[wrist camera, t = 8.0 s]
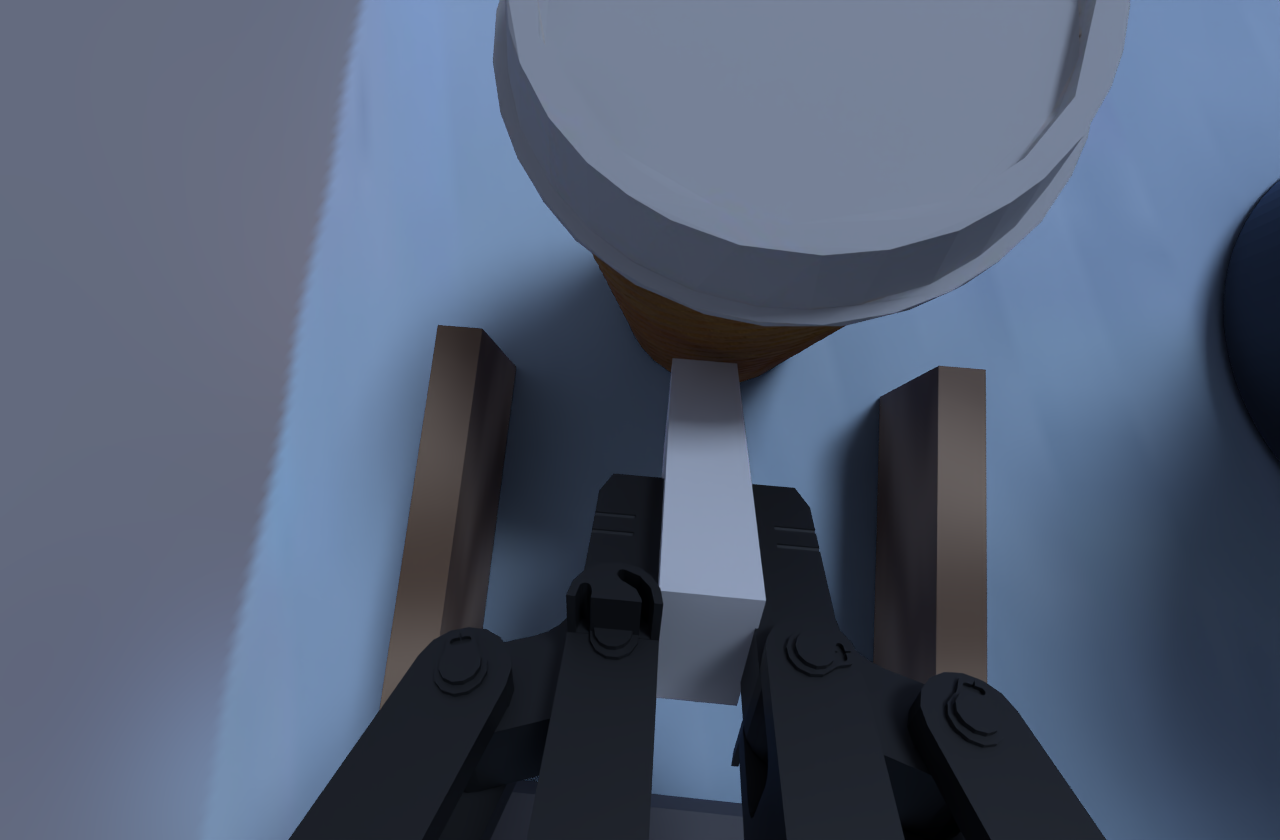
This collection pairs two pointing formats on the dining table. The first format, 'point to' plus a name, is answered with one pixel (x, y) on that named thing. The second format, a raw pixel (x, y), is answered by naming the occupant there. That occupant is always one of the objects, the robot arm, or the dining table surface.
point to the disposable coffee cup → (797, 150)
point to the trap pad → (679, 827)
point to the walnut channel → (906, 513)
